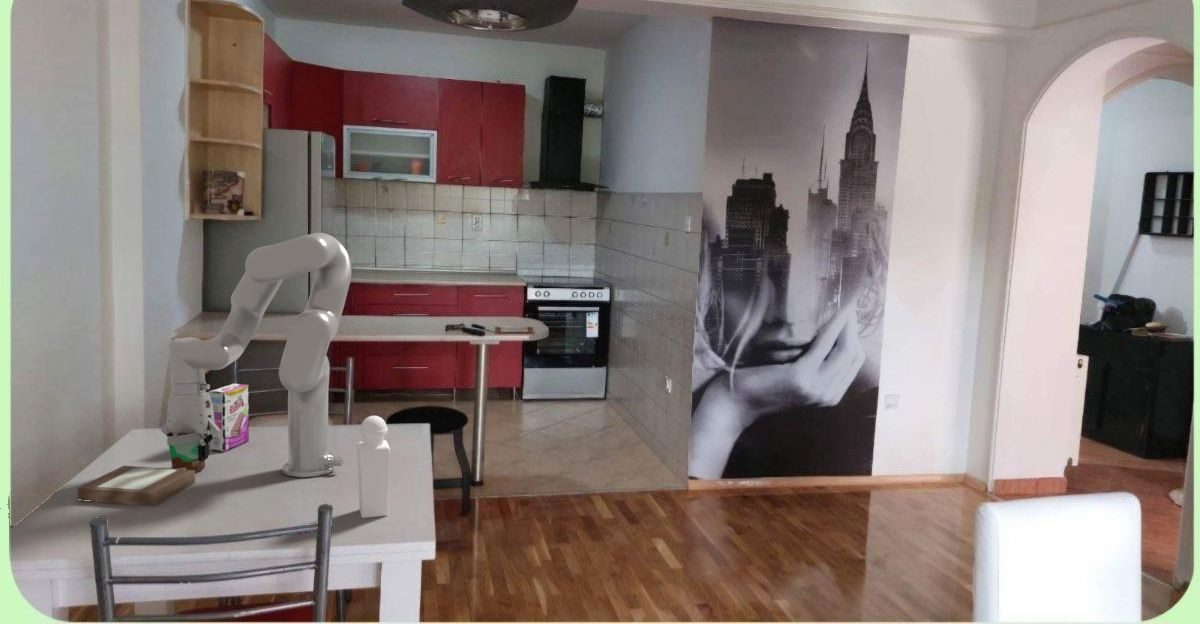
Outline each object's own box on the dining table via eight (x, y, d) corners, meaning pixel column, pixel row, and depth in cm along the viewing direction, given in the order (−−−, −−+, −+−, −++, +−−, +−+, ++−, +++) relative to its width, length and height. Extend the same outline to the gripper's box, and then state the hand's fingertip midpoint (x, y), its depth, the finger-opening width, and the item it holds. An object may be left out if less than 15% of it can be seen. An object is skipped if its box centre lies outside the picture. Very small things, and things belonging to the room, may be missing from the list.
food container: (194, 477, 207) (191, 436, 205) (170, 477, 207) (166, 436, 206) (219, 461, 219) (216, 423, 218) (196, 461, 219) (192, 423, 218)
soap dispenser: (390, 516, 188) (390, 419, 185) (359, 519, 186) (359, 420, 183) (387, 506, 194) (387, 411, 191) (357, 508, 192) (356, 413, 189)
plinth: (195, 482, 205) (194, 469, 204) (154, 506, 189) (154, 492, 188) (123, 477, 206) (123, 464, 206) (77, 500, 190) (77, 487, 190)
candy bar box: (225, 452, 228) (223, 392, 226) (208, 451, 229) (207, 391, 227) (250, 441, 239) (249, 383, 237) (234, 439, 240) (233, 382, 238)
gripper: (229, 385, 213) (232, 456, 216) (164, 383, 215) (168, 453, 217) (213, 392, 206) (217, 465, 208) (146, 390, 207) (150, 462, 210)
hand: (192, 458), depth 213 cm, fingers closed on food container, 5 cm apart
